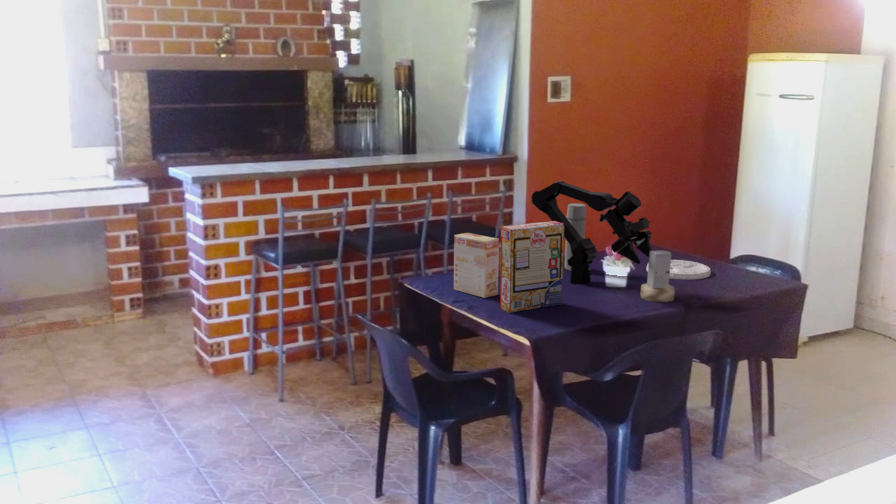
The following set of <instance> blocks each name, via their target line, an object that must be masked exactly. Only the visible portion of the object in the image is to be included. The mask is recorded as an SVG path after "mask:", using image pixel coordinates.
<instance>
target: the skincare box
mask: <svg viewBox="0 0 896 504" xmlns="http://www.w3.org/2000/svg"><path fill="white" fill-rule="evenodd" d="M671 260H672V252H670V251H668V250H652V251H650V254H649V257H648V263H649V266H648V272H647V281H646V283H647V286H649V287H650V288H652V289H654V288H668V286H669V285H670V278H669V274H670V263H671Z"/></svg>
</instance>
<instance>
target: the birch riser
mask: <svg viewBox="0 0 896 504" xmlns="http://www.w3.org/2000/svg"><path fill="white" fill-rule="evenodd" d="M675 289H676V287H675V286H674V285H671V284H669V286H668V288H654V289H652V288H650V287H649V286H647V282H646V283H643V284H641V286H640V298H641V299H642V300H645V301H646V302H647V301H648V302H651V303H652V302H653V303H670V302H673V301H674V300H675V294H676V293H675V291H676V290H675ZM669 301H670V302H669Z"/></svg>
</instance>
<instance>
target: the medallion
mask: <svg viewBox="0 0 896 504" xmlns="http://www.w3.org/2000/svg"><path fill="white" fill-rule="evenodd" d="M648 266H649V262H647V265H646V272H647V273H648ZM711 272H712V271H711V268H710V267H709V266H708V265H705V264H704V263H700V262H695V261H692V260H685V259H671V263H670V274H669V279H671V280H685V281H686V280H701V279H705V278H709V277H710V276H711Z"/></svg>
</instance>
